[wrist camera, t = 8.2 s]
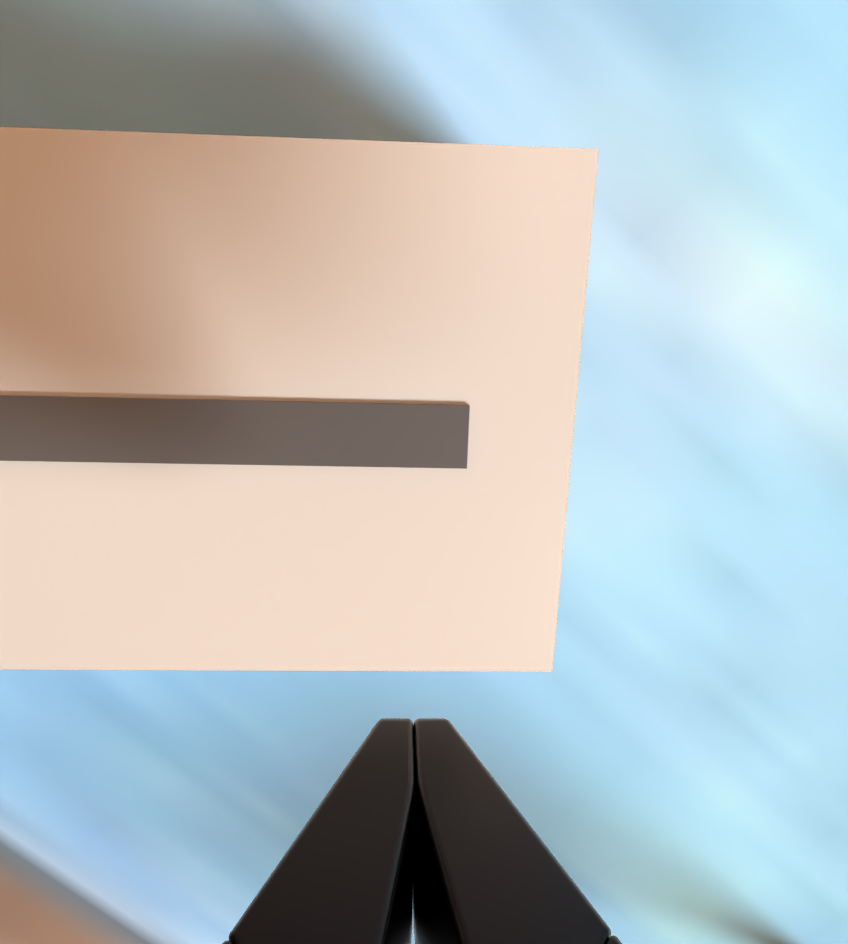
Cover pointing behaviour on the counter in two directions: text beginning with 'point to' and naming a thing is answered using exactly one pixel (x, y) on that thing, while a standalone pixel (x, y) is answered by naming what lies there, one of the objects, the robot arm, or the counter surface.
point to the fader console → (286, 400)
